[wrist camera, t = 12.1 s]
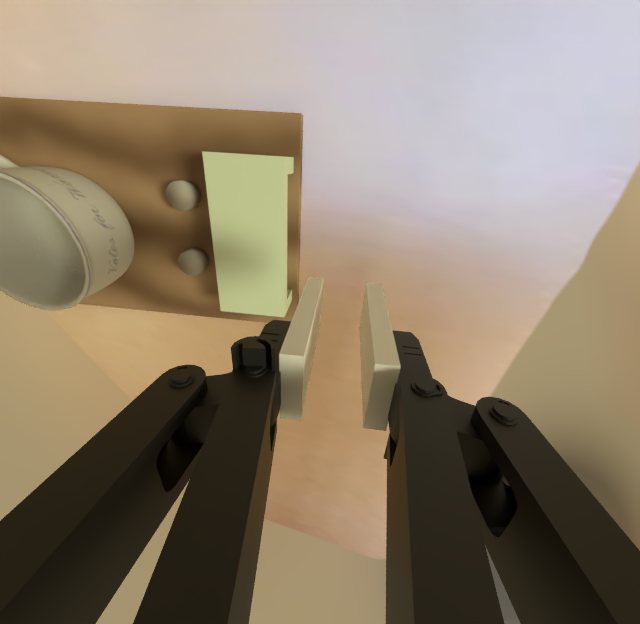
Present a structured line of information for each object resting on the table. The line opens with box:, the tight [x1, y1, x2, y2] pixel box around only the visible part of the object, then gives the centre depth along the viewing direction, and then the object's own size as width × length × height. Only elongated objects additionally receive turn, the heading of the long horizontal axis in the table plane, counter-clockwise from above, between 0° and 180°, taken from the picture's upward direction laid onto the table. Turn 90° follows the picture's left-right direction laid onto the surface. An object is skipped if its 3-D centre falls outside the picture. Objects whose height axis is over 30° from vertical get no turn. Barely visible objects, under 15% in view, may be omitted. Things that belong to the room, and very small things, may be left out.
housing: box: [202, 151, 294, 317], centre depth 26 cm, size 13×6×4 cm, turn 177°
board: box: [0, 97, 303, 323], centre depth 28 cm, size 19×28×3 cm
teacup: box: [0, 155, 134, 310], centre depth 24 cm, size 14×11×8 cm
